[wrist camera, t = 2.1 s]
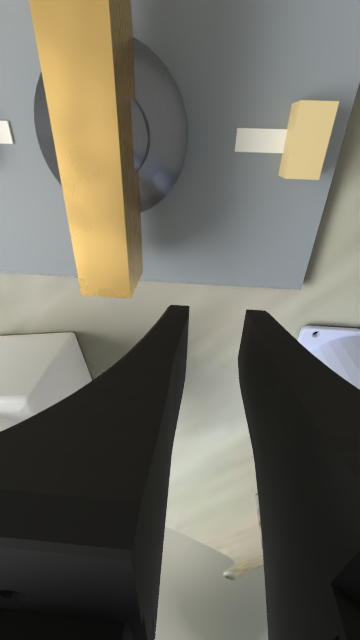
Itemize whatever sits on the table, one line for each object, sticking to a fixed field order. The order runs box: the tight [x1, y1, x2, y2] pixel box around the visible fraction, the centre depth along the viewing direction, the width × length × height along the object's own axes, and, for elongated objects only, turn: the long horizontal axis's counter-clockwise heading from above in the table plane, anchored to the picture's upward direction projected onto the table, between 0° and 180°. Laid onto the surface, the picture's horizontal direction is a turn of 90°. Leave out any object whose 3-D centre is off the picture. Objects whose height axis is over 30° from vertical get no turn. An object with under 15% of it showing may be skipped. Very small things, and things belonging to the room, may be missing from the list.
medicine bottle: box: [0, 332, 92, 432], centre depth 20 cm, size 7×7×12 cm
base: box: [0, 0, 360, 290], centre depth 14 cm, size 22×16×2 cm
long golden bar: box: [29, 0, 189, 298], centre depth 12 cm, size 7×13×4 cm, turn 178°
